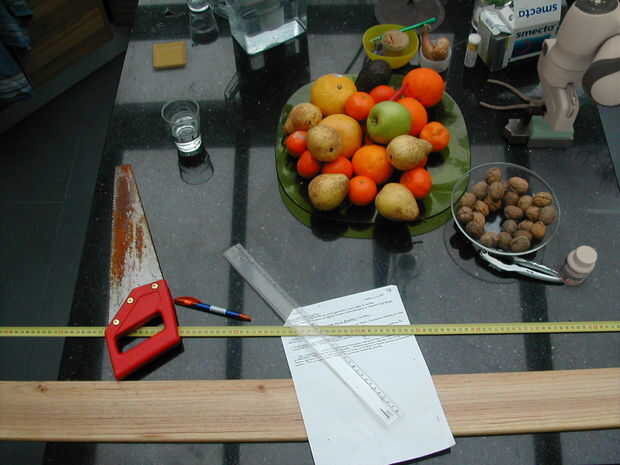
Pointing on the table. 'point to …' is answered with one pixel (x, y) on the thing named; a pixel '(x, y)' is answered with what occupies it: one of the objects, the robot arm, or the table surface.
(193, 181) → the table surface
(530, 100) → the pliers
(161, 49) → the yellow kitchen sponge
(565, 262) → the pill bottle
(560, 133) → the iron
